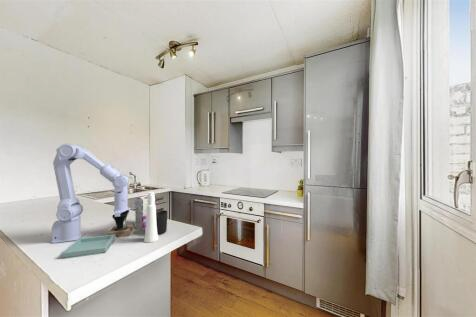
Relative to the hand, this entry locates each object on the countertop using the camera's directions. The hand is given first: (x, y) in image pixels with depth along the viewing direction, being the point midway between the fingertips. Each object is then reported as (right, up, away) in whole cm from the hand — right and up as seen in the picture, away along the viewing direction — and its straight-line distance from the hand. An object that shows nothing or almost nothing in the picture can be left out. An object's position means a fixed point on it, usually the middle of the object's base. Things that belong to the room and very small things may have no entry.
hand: (121, 227), depth 95 cm
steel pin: (0, -3, 0) cm, 3 cm away
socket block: (0, -3, 0) cm, 3 cm away
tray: (-3, -3, -15) cm, 16 cm away
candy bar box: (+7, -3, +12) cm, 14 cm away
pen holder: (+17, -3, +2) cm, 18 cm away
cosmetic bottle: (+18, -3, -7) cm, 20 cm away
